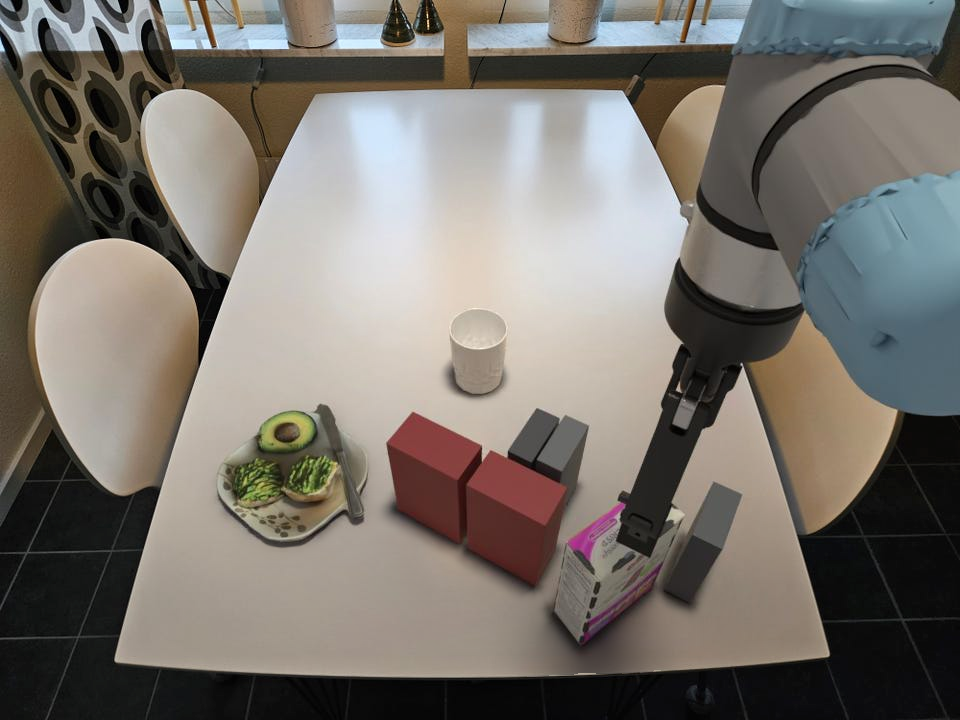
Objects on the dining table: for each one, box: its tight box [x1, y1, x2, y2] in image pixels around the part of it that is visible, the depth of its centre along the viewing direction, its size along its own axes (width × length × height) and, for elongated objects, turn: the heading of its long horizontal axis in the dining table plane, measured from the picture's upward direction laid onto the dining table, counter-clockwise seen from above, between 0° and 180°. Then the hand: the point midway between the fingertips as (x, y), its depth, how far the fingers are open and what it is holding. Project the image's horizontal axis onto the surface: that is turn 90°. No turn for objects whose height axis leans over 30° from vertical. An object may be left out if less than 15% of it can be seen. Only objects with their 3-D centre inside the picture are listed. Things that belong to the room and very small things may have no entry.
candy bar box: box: [553, 502, 686, 646], centre depth 66 cm, size 11×5×16 cm, turn 126°
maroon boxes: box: [385, 411, 567, 587], centre depth 72 cm, size 5×19×14 cm, turn 59°
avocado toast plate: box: [216, 403, 369, 543], centre depth 80 cm, size 19×18×5 cm
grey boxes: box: [506, 407, 743, 604], centre depth 73 cm, size 7×24×13 cm, turn 59°
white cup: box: [448, 307, 509, 395], centre depth 90 cm, size 8×8×10 cm
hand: (664, 478), depth 52 cm, fingers open, 13 cm apart
